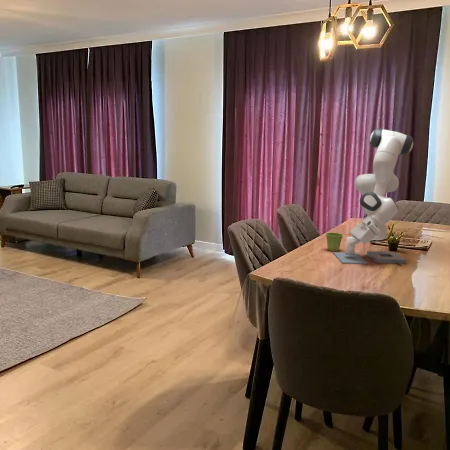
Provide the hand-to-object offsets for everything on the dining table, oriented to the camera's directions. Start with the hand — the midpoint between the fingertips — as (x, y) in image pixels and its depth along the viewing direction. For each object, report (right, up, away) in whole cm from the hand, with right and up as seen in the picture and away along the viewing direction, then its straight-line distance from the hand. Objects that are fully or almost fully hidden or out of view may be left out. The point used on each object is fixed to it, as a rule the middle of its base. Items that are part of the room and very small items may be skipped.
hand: (349, 244), depth 235 cm
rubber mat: (0, -7, +1) cm, 7 cm away
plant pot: (-4, -4, +19) cm, 20 cm away
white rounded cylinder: (+1, -5, +1) cm, 5 cm away
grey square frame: (+18, -8, -1) cm, 20 cm away
